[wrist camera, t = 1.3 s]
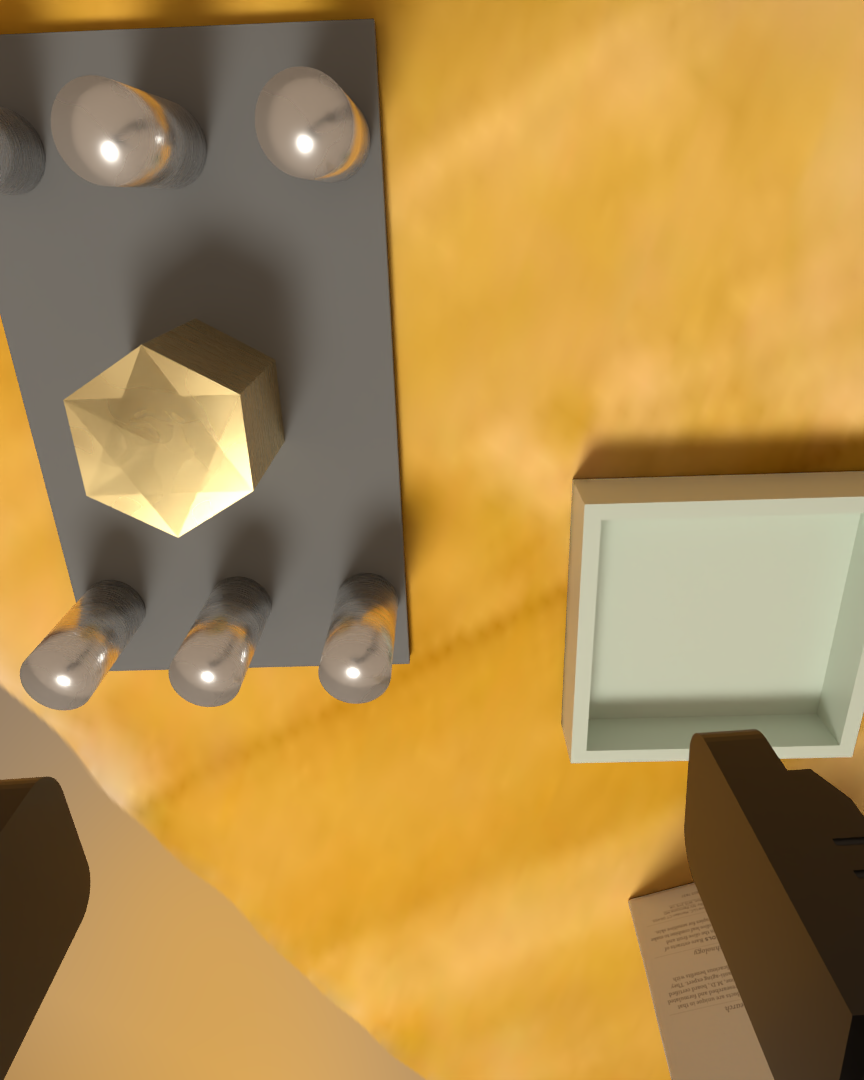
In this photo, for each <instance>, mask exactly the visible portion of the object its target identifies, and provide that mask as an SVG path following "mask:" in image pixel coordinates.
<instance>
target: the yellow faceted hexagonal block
mask: <svg viewBox="0 0 864 1080" xmlns="http://www.w3.org/2000/svg"><path fill="white" fill-rule="evenodd" d="M63 401H64V405H65V409H66V413H67V417H68V421H69V426H70V430H71V434H72V438H73V442H74V446H75V450H76V455H77V459H78V463H79V467H80V471H81V475H82V480H83V484H84V488H85V492H86V496H88V497H90V498H92V499H95V500H97V501H99V502H101V503H103V504H106V505H108V506H110V507H112V508H114V509H117V510H119V511H121V512H123V513H125V514H128V515H130V516H132V517H134V518H136V519H139V520H141V521H143V522H145V523H147V524H149V525H152V526H154V527H156V528H158V529H160V530H163V531H165V532H167V533H169V534H171V535H174V536H176V537H180V536H182V535H183V534H185V533H186V532H188V531H190V530H191V529H193V528H194V527H196V526H198V525H199V524H201V523H203V522H204V521H206V520H207V519H209V518H211V517H212V516H214V515H215V514H217V513H219V512H220V511H222V510H223V509H225V508H227V507H228V506H230V505H232V504H233V503H235V502H236V501H238V500H240V499H241V498H243V497H244V496H246V495H248V494H249V493H251V492H252V491H254V489H255V488H256V486H257V485H258V483H259V481H260V480H261V478H262V477H263V475H264V473H265V472H266V470H267V469H268V467H269V466H270V464H271V462H272V461H273V459H274V458H275V456H276V455H277V453H278V451H279V450H280V448H281V447H282V445H283V443H284V442H285V437H284V429H283V420H282V412H281V404H280V395H279V387H278V379H277V370H276V362H275V359H273V358H271V357H269V356H268V355H266V354H264V353H262V352H260V351H258V350H256V349H254V348H252V347H250V346H248V345H246V344H244V343H242V342H240V341H238V340H237V339H235V338H233V337H231V336H229V335H227V334H225V333H223V332H221V331H219V330H217V329H215V328H213V327H211V326H209V325H208V324H206V323H204V322H202V321H200V320H198V319H196V318H195V319H193V320H191V321H189V322H187V323H185V324H183V325H181V326H179V327H177V328H175V329H173V330H171V331H169V332H167V333H164V334H162V335H160V336H158V337H156V338H154V339H152V340H150V341H148V342H146V343H144V344H142V345H140V346H139V347H138V348H136V349H135V350H133V351H132V352H131V353H129V354H128V355H126V356H125V357H123V358H122V359H121V360H119V361H118V362H116V363H115V364H114V365H112V366H111V367H109V368H108V369H107V370H105V371H104V372H102V373H101V374H99V375H98V376H97V377H95V378H94V379H92V380H91V381H90V382H88V383H87V384H85V385H84V386H82V387H81V388H80V389H78V390H77V391H75V392H74V393H73V394H71V395H70V396H68V397H67V398H65V399H64V400H63Z"/></svg>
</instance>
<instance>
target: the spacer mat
mask: <svg viewBox="0 0 864 1080" xmlns="http://www.w3.org/2000/svg"><path fill="white" fill-rule="evenodd" d="M297 66H304V67H310V68H314V69H317V70H319V71H321V72H323V73H325V74H327V75H328V76H329V77H331V78H332V79H333V80H334V81H335V82H336V83H337V84H338V85H339V86H340V87H341V89H342V90H343V91H344V92H345V93H346V94H347V95H348V96H349V98H350V99H351V100H352V101H353V102H354V103H355V104H356V106H357V107H358V108H359V109H360V110H361V112H362V113H363V115H364V117H365V119H366V121H367V124H368V127H369V131H370V150H369V154H368V157H367V160H366V162H365V164H364V165H363V167H362V168H361V169H360V171H359V172H358V173H357V174H355V175H354V176H353V177H351V178H350V179H348V180H345V181H342V182H337V183H329V182H322V181H315V180H309V179H302V178H297V177H293V176H290V175H288V174H286V173H284V172H283V171H281V170H280V169H278V168H277V167H276V166H275V165H274V164H273V163H272V162H271V161H270V160H269V159H268V157H267V156H266V155H265V153H264V151H263V149H262V148H261V145H260V143H259V141H258V137H257V134H256V129H255V109H256V104H257V100H258V97H259V95H260V93H261V91H262V89H263V87H264V86H265V84H266V83H267V82H268V81H269V80H270V79H271V78H272V77H273V76H274V75H276V74H277V73H279V72H280V71H282V70H285V69H287V68H291V67H297ZM85 75H98V76H103V77H106V78H109V79H112V80H115V81H117V82H120V83H123V84H126V85H128V86H131V87H134V88H137V89H139V90H142V91H145V92H147V93H150V94H153V95H156V96H158V97H161V98H164V99H167V100H169V101H172V102H175V103H177V104H179V105H181V106H183V107H184V108H186V109H187V110H188V111H190V112H191V113H192V114H193V115H194V116H195V118H196V119H197V120H198V122H199V124H200V125H201V127H202V129H203V132H204V134H205V137H206V142H207V159H206V164H205V167H204V169H203V171H202V173H201V174H200V176H199V177H198V178H197V179H196V180H195V181H194V182H193V183H191V184H190V185H188V186H186V187H182V188H177V189H166V188H139V187H112V186H101V185H97V184H93V183H91V182H89V181H86V180H85V179H83V178H81V177H80V176H79V175H77V174H76V173H75V172H74V171H73V170H72V169H71V168H70V167H69V166H68V165H67V164H66V163H65V161H64V160H63V158H62V157H61V155H60V154H59V152H58V150H57V148H56V145H55V142H54V139H53V136H52V130H51V111H52V106H53V103H54V100H55V98H56V96H57V94H58V93H59V91H60V90H61V89H62V88H63V87H64V86H65V85H66V84H67V83H68V82H70V81H71V80H73V79H75V78H77V77H81V76H85ZM0 107H4V108H8V109H11V110H13V111H15V112H17V113H19V114H20V115H22V116H23V117H24V118H26V119H27V120H28V121H29V122H30V123H31V124H32V126H33V127H34V128H35V129H36V131H37V132H38V134H39V136H40V138H41V140H42V143H43V145H44V149H45V154H46V168H45V172H44V175H43V178H42V179H41V181H40V183H39V184H38V185H37V186H36V187H35V188H34V189H33V190H31V191H29V192H27V193H24V194H19V195H0V315H1V319H2V323H3V326H4V330H5V334H6V338H7V341H8V345H9V349H10V353H11V357H12V360H13V364H14V368H15V372H16V376H17V379H18V383H19V387H20V391H21V395H22V398H23V402H24V406H25V410H26V414H27V417H28V421H29V425H30V429H31V432H32V436H33V440H34V444H35V448H36V451H37V455H38V459H39V463H40V467H41V470H42V474H43V478H44V482H45V486H46V489H47V493H48V497H49V501H50V505H51V508H52V512H53V516H54V520H55V523H56V527H57V531H58V535H59V539H60V542H61V546H62V550H63V554H64V558H65V561H66V565H67V569H68V573H69V577H70V580H71V584H72V588H73V592H74V596H75V599H76V603H77V602H78V600H79V599H80V598H81V597H82V596H83V595H84V594H85V593H86V592H87V590H88V589H89V588H90V587H91V586H92V585H94V584H95V583H97V582H100V581H104V580H116V581H120V582H123V583H126V584H128V585H129V586H131V587H132V588H134V589H135V590H136V591H137V592H138V593H139V594H140V596H141V597H142V599H143V601H144V603H145V607H146V615H145V619H144V621H143V623H142V624H141V625H140V627H139V628H138V630H137V631H136V633H135V634H134V635H133V637H132V638H131V640H130V641H129V643H128V644H127V645H126V647H125V648H124V650H123V651H122V653H121V654H120V656H119V657H118V658H117V660H116V661H115V663H114V664H113V666H112V667H111V668H110V670H109V671H127V670H168V669H169V667H170V664H171V662H172V660H173V658H174V657H175V655H176V653H177V651H178V650H179V648H180V646H181V644H182V643H183V641H184V639H185V638H186V636H187V634H188V632H189V631H190V629H191V627H192V625H193V624H194V622H195V620H196V618H197V617H198V615H199V613H200V612H201V610H202V608H203V606H204V605H205V603H206V601H207V599H208V598H209V596H210V594H211V592H212V591H213V589H214V587H215V586H216V585H217V584H218V583H219V582H221V581H222V580H224V579H226V578H230V577H236V576H237V577H246V578H249V579H252V580H254V581H256V582H258V583H259V584H260V585H261V586H263V587H264V589H265V590H266V591H267V592H268V594H269V596H270V599H271V605H272V607H271V613H270V615H269V618H268V620H267V623H266V625H265V628H264V630H263V633H262V635H261V638H260V640H259V642H258V645H257V647H256V650H255V652H254V655H253V657H252V660H251V662H250V665H249V667H248V668H251V667H292V666H319V665H320V661H321V657H322V653H323V649H324V645H325V641H326V637H327V633H328V629H329V626H330V622H331V618H332V614H333V610H334V606H335V602H336V598H337V594H338V591H339V588H340V587H341V585H342V584H343V583H344V582H345V581H346V580H347V579H348V578H350V577H352V576H354V575H357V574H361V573H372V574H376V575H379V576H382V577H383V578H385V579H387V580H388V581H389V582H390V583H391V584H392V585H393V586H394V588H395V590H396V592H397V595H398V609H397V619H396V629H395V639H394V649H393V660H392V664H409V662H410V651H409V633H408V614H407V596H406V578H405V560H404V542H403V523H402V505H401V487H400V469H399V450H398V432H397V414H396V396H395V377H394V359H393V341H392V323H391V304H390V286H389V268H388V250H387V232H386V213H385V195H384V177H383V159H382V140H381V122H380V104H379V86H378V67H377V49H376V31H375V21H374V19H355V20H331V21H308V22H284V23H261V24H238V25H214V26H191V27H167V28H144V29H120V30H97V31H73V32H50V33H27V34H3V35H0ZM195 318H196V319H198V320H200V321H202V322H204V323H206V324H208V325H209V326H211V327H213V328H215V329H217V330H219V331H221V332H223V333H225V334H227V335H229V336H231V337H233V338H235V339H237V340H238V341H240V342H242V343H244V344H246V345H248V346H250V347H252V348H254V349H256V350H258V351H260V352H262V353H264V354H266V355H268V356H269V357H271V358H273V359H275V362H276V370H277V379H278V387H279V395H280V404H281V412H282V420H283V429H284V437H285V442H284V443H283V445H282V447H281V448H280V450H279V451H278V453H277V455H276V456H275V458H274V459H273V461H272V462H271V464H270V466H269V467H268V469H267V470H266V472H265V473H264V475H263V477H262V478H261V480H260V481H259V483H258V485H257V486H256V488H255V489H254V491H252V492H251V493H249V494H248V495H246V496H244V497H243V498H241V499H240V500H238V501H236V502H235V503H233V504H232V505H230V506H228V507H227V508H225V509H223V510H222V511H220V512H219V513H217V514H215V515H214V516H212V517H211V518H209V519H207V520H206V521H204V522H203V523H201V524H199V525H198V526H196V527H194V528H193V529H191V530H190V531H188V532H186V533H185V534H183V535H182V536H180V537H176V536H174V535H171V534H169V533H167V532H165V531H163V530H160V529H158V528H156V527H154V526H152V525H149V524H147V523H145V522H143V521H141V520H139V519H136V518H134V517H132V516H130V515H128V514H125V513H123V512H121V511H119V510H117V509H114V508H112V507H110V506H108V505H106V504H103V503H101V502H99V501H97V500H95V499H92V498H90V497H88V496H86V492H85V488H84V484H83V480H82V475H81V471H80V467H79V463H78V459H77V455H76V450H75V446H74V442H73V438H72V434H71V430H70V426H69V421H68V417H67V413H66V409H65V405H64V401H63V400H64V399H65V398H67V397H68V396H70V395H71V394H73V393H74V392H75V391H77V390H78V389H80V388H81V387H82V386H84V385H85V384H87V383H88V382H90V381H91V380H92V379H94V378H95V377H97V376H98V375H99V374H101V373H102V372H104V371H105V370H107V369H108V368H109V367H111V366H112V365H114V364H115V363H116V362H118V361H119V360H121V359H122V358H123V357H125V356H126V355H128V354H129V353H131V352H132V351H133V350H135V349H136V348H138V347H139V346H140V345H142V344H144V343H146V342H148V341H150V340H152V339H154V338H156V337H158V336H160V335H162V334H164V333H167V332H169V331H171V330H173V329H175V328H177V327H179V326H181V325H183V324H185V323H187V322H189V321H191V320H193V319H195Z"/></svg>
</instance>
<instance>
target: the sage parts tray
mask: <svg viewBox="0 0 864 1080" xmlns="http://www.w3.org/2000/svg"><path fill="white" fill-rule="evenodd" d="M863 712H864V471H844V472H810V473H776V474H742V475H708V476H674V477H640V478H605V479H573V484H572V506H571V527H570V549H569V570H568V592H567V613H566V635H565V656H564V678H563V699H562V721H561V724H562V728H563V733H564V737H565V741H566V745H567V750H568V754H569V758H570V762H571V763H601V762H648V761H689V748H690V742H691V738H692V736H693V735H694V734H695V733H703V732H717V731H731V730H746V729H757V730H759V731H760V732H761V733H762V734H763V735H764V736H765V738H766V739H767V741H768V742H769V744H770V745H771V747H772V748H773V750H774V751H775V753H776V754H777V756H778V757H779V759H788V758H835V757H852V756H853V752H854V748H855V744H856V740H857V736H858V732H859V728H860V724H861V720H862V716H863Z"/></svg>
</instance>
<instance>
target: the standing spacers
mask: <svg viewBox="0 0 864 1080" xmlns="http://www.w3.org/2000/svg"><path fill="white" fill-rule="evenodd" d="M255 129H256V134H257V137H258V141H259V143H260V145H261V148H262V149H263V151H264V153H265V155H266V156H267V157H268V159H269V160H270V161H271V162H272V163H273V164H274V165H275V166H276V167H277V168H278V169H280V170H281V171H283V172H284V173H286V174H288V175H290V176H293V177H297V178H302V179H309V180H315V181H322V182H329V183H337V182H342V181H345V180H348V179H350V178H351V177H353V176H354V175H355V174H357V173H358V172H359V171H360V169H361V168H362V167H363V165H364V164H365V162H366V160H367V157H368V154H369V150H370V131H369V127H368V124H367V121H366V119H365V117H364V115H363V113H362V112H361V110H360V109H359V108H358V107H357V106H356V104H355V103H354V102H353V101H352V100H351V99H350V98H349V96H348V95H347V94H346V93H345V92H344V91H343V90H342V89H341V87H340V86H339V85H338V84H337V83H336V82H335V81H334V80H333V79H332V78H331V77H329V76H328V75H327V74H325V73H323V72H321V71H319V70H317V69H314V68H310V67H304V66H297V67H291V68H287V69H285V70H282V71H280V72H279V73H277V74H276V75H274V76H273V77H272V78H271V79H270V80H269V81H268V82H267V83H266V84H265V86H264V87H263V89H262V91H261V93H260V95H259V97H258V100H257V104H256V109H255ZM51 130H52V136H53V139H54V142H55V145H56V148H57V150H58V152H59V154H60V155H61V157H62V158H63V160H64V161H65V163H66V164H67V165H68V166H69V167H70V168H71V169H72V170H73V171H74V172H75V173H76V174H77V175H79V176H80V177H81V178H83V179H85V180H86V181H89V182H91V183H93V184H97V185H101V186H112V187H139V188H166V189H177V188H182V187H186V186H188V185H190V184H191V183H193V182H194V181H195V180H196V179H197V178H198V177H199V176H200V174H201V173H202V171H203V169H204V167H205V164H206V159H207V142H206V137H205V134H204V132H203V129H202V127H201V125H200V124H199V122H198V120H197V119H196V118H195V116H194V115H193V114H192V113H191V112H190V111H188V110H187V109H186V108H184V107H183V106H181V105H179V104H177V103H175V102H172V101H169V100H167V99H164V98H161V97H158V96H156V95H153V94H150V93H147V92H145V91H142V90H139V89H137V88H134V87H131V86H128V85H126V84H123V83H120V82H117V81H115V80H112V79H109V78H106V77H103V76H98V75H85V76H81V77H77V78H75V79H73V80H71V81H70V82H68V83H67V84H66V85H65V86H64V87H63V88H62V89H61V90H60V91H59V93H58V94H57V96H56V98H55V100H54V103H53V106H52V111H51ZM45 168H46V154H45V149H44V145H43V143H42V140H41V138H40V136H39V134H38V132H37V131H36V129H35V128H34V127H33V126H32V124H31V123H30V122H29V121H28V120H27V119H26V118H24V117H23V116H22V115H20V114H19V113H17V112H15V111H13V110H11V109H8V108H4V107H0V195H19V194H24V193H27V192H29V191H31V190H33V189H34V188H35V187H36V186H37V185H38V184H39V183H40V181H41V179H42V178H43V175H44V172H45ZM271 607H272V605H271V599H270V596H269V594H268V592H267V591H266V590H265V589H264V587H263V586H261V585H260V584H259V583H258V582H256V581H254V580H252V579H249V578H246V577H237V576H236V577H230V578H226V579H224V580H222V581H221V582H219V583H218V584H217V585H216V586H215V587H214V589H213V591H212V592H211V594H210V596H209V598H208V599H207V601H206V603H205V605H204V606H203V608H202V610H201V612H200V613H199V615H198V617H197V618H196V620H195V622H194V624H193V625H192V627H191V629H190V631H189V632H188V634H187V636H186V638H185V639H184V641H183V643H182V644H181V646H180V648H179V650H178V651H177V653H176V655H175V657H174V658H173V660H172V662H171V664H170V667H169V679H170V682H171V685H172V687H173V688H174V690H175V691H176V692H177V693H178V694H179V695H180V696H181V697H182V698H184V699H185V700H187V701H188V702H190V703H193V704H195V705H199V706H204V707H215V706H220V705H223V704H226V703H228V702H229V701H231V700H232V699H233V698H234V697H235V696H236V695H237V693H238V692H239V689H240V687H241V684H242V682H243V679H244V677H245V675H246V672H247V670H248V667H249V665H250V662H251V660H252V657H253V655H254V652H255V650H256V647H257V645H258V642H259V640H260V638H261V635H262V633H263V630H264V628H265V625H266V623H267V620H268V618H269V615H270V613H271ZM397 609H398V595H397V592H396V590H395V588H394V586H393V585H392V584H391V583H390V582H389V581H388V580H387V579H385V578H383V577H382V576H379V575H376V574H372V573H361V574H357V575H354V576H352V577H350V578H348V579H347V580H346V581H345V582H344V583H343V584H342V585H341V587H340V588H339V591H338V594H337V598H336V602H335V606H334V610H333V614H332V618H331V622H330V626H329V629H328V633H327V637H326V641H325V645H324V649H323V653H322V657H321V661H320V665H319V679H320V682H321V684H322V686H323V687H324V689H325V690H326V691H327V692H328V693H329V694H330V695H331V696H333V697H335V698H336V699H338V700H341V701H343V702H347V703H365V702H369V701H372V700H374V699H376V698H378V697H379V696H380V695H382V694H383V693H384V692H385V690H386V689H387V687H388V685H389V683H390V678H391V670H392V660H393V649H394V639H395V629H396V619H397ZM145 615H146V607H145V603H144V601H143V599H142V597H141V596H140V594H139V593H138V592H137V591H136V590H135V589H134V588H132V587H131V586H129V585H128V584H126V583H123V582H120V581H116V580H104V581H100V582H97V583H95V584H94V585H92V586H91V587H90V588H89V589H88V590H87V592H86V593H85V594H84V595H83V596H82V597H81V598H80V599H79V600H78V602H77V603H76V604H75V605H74V606H73V607H72V608H71V609H70V611H69V612H68V613H67V614H66V615H65V616H64V617H63V618H62V619H61V621H60V622H59V623H58V624H57V625H56V626H55V627H54V628H53V629H52V631H51V632H50V633H49V634H48V635H47V636H46V637H45V638H44V640H43V641H42V642H41V643H40V644H39V645H38V646H37V647H36V648H35V650H34V651H33V652H32V653H31V654H30V655H29V656H28V657H27V659H26V660H25V661H24V662H23V664H22V666H21V669H20V679H21V683H22V685H23V687H24V689H25V690H26V692H27V693H28V694H29V695H30V696H31V697H32V698H33V699H34V700H35V701H37V702H38V703H40V704H42V705H44V706H46V707H49V708H52V709H56V710H71V709H75V708H78V707H80V706H82V705H84V704H85V703H86V702H87V701H88V700H89V698H90V697H91V696H92V694H93V693H94V691H95V690H96V688H97V687H98V686H99V684H100V683H101V681H102V680H103V678H104V677H105V676H106V674H107V673H108V671H109V670H110V668H111V667H112V666H113V664H114V663H115V661H116V660H117V658H118V657H119V656H120V654H121V653H122V651H123V650H124V648H125V647H126V645H127V644H128V643H129V641H130V640H131V638H132V637H133V635H134V634H135V633H136V631H137V630H138V628H139V627H140V625H141V624H142V623H143V621H144V619H145Z"/></svg>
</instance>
